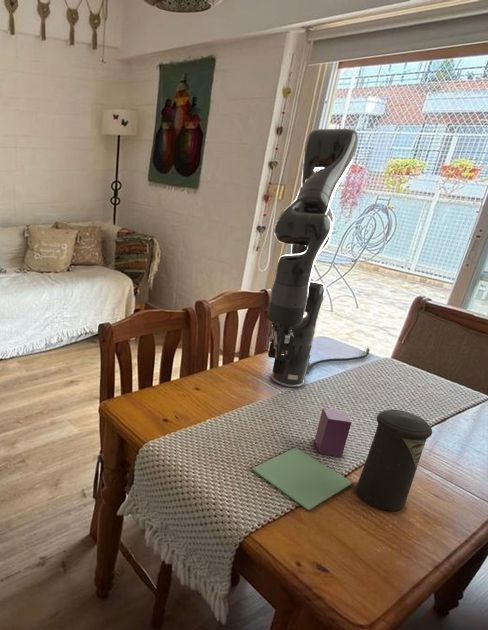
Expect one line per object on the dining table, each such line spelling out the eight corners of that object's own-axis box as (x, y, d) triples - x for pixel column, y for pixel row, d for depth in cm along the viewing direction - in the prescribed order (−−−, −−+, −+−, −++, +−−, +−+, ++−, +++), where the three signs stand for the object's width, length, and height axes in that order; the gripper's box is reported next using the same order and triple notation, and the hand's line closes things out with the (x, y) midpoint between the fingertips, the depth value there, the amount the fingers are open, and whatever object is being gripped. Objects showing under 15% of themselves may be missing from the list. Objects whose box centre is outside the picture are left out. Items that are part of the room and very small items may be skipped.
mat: (295, 448, 109) (295, 447, 109) (352, 484, 97) (352, 482, 97) (251, 469, 101) (251, 468, 101) (308, 510, 90) (308, 509, 90)
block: (314, 441, 112) (322, 407, 108) (335, 444, 110) (345, 410, 107) (318, 453, 107) (328, 418, 104) (341, 457, 106) (351, 422, 102)
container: (406, 519, 88) (437, 436, 81) (354, 501, 93) (379, 421, 85) (403, 492, 95) (431, 414, 88) (354, 477, 99) (377, 401, 92)
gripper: (312, 313, 92) (297, 381, 98) (299, 293, 105) (287, 354, 111) (274, 309, 94) (261, 376, 100) (266, 290, 107) (255, 350, 113)
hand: (275, 364), depth 106 cm, fingers open, 8 cm apart
